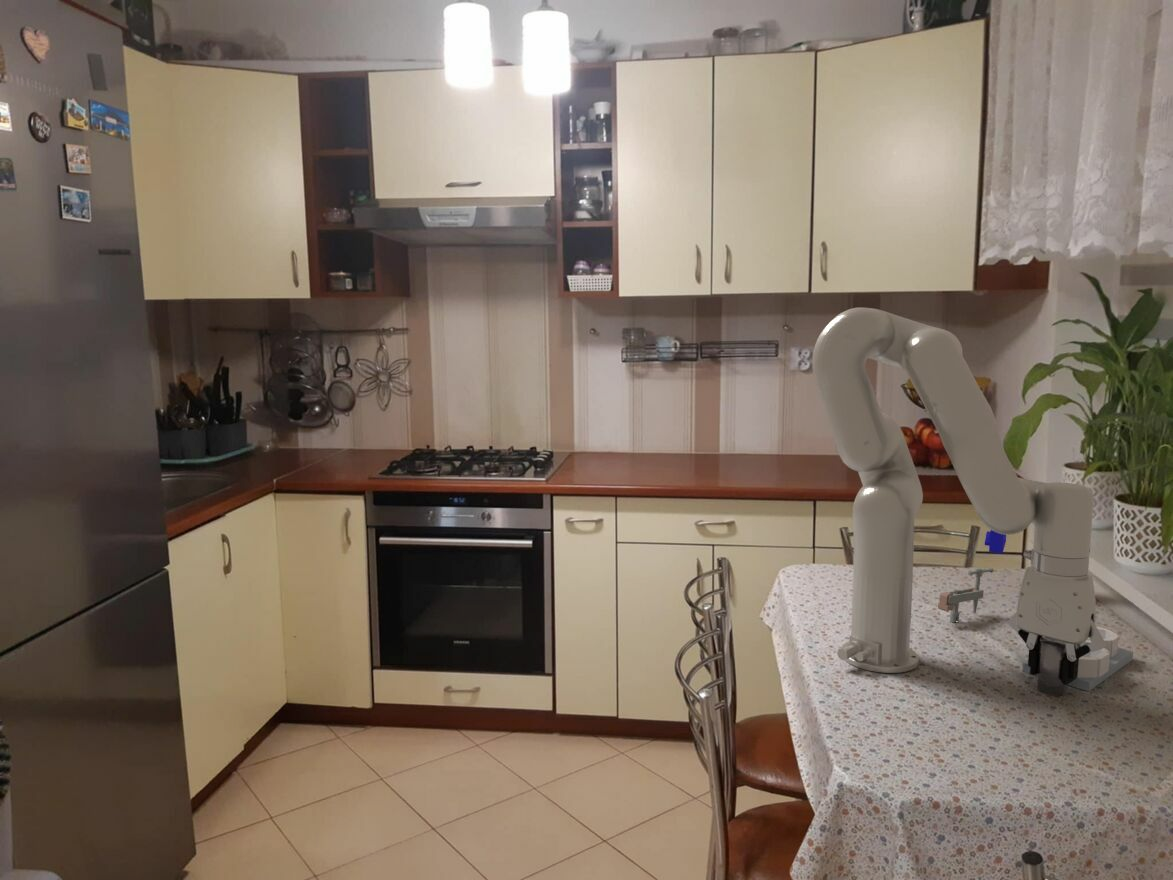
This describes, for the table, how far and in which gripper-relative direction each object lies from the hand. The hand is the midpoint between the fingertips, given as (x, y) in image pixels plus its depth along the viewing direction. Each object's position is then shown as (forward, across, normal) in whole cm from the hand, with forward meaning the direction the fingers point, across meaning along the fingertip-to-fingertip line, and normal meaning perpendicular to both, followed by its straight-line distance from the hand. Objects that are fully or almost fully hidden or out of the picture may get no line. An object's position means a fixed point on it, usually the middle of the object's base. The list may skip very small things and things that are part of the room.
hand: (1051, 676), depth 131 cm
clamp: (+3, -24, +20) cm, 32 cm away
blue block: (+3, -44, +76) cm, 88 cm away
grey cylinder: (+2, 0, 0) cm, 2 cm away
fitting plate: (+2, -1, +14) cm, 14 cm away
